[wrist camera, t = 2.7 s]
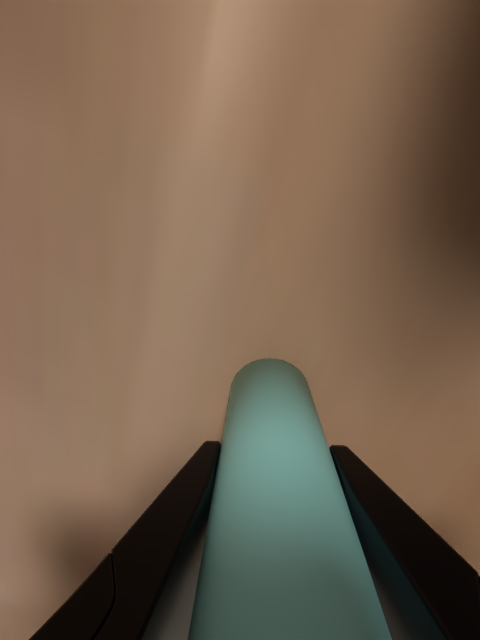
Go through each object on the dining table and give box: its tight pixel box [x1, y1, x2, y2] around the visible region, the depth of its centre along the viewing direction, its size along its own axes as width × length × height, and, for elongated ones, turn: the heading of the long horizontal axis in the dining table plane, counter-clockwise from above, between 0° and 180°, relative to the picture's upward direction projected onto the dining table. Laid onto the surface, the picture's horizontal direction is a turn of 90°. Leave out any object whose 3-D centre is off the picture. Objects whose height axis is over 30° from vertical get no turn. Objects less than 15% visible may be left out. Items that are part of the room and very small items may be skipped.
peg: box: [188, 359, 392, 640], centre depth 6 cm, size 3×3×9 cm
